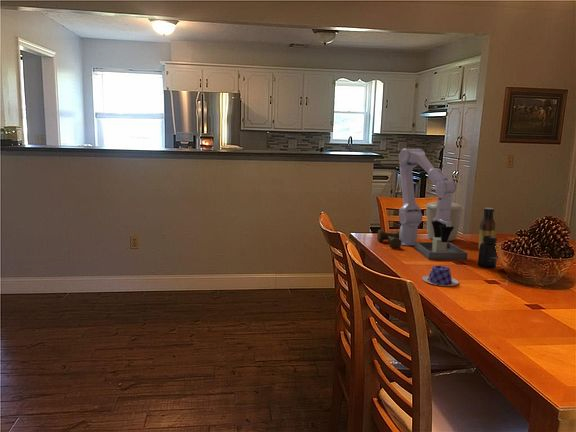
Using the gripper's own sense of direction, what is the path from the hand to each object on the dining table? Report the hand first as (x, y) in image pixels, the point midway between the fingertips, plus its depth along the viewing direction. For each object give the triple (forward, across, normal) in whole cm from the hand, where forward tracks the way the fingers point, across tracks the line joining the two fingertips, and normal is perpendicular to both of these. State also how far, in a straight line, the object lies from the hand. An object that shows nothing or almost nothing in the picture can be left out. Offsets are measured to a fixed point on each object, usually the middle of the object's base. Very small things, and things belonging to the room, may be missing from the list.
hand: (440, 239), depth 194 cm
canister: (+7, -29, +12) cm, 32 cm away
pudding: (+7, +37, -14) cm, 40 cm away
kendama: (+7, -18, -17) cm, 25 cm away
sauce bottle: (+6, -4, +22) cm, 23 cm away
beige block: (+5, 0, 0) cm, 5 cm away
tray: (+6, 0, 0) cm, 6 cm away
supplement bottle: (+6, +18, +12) cm, 23 cm away
